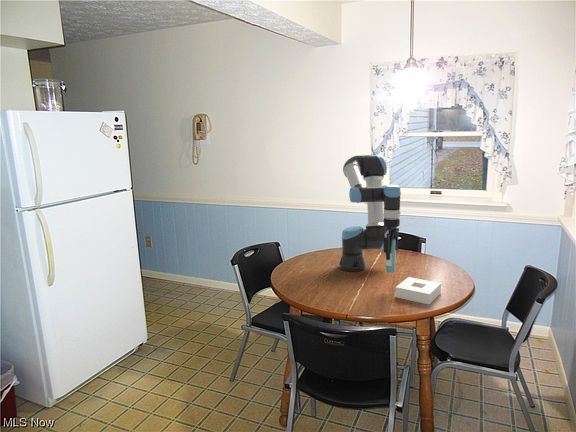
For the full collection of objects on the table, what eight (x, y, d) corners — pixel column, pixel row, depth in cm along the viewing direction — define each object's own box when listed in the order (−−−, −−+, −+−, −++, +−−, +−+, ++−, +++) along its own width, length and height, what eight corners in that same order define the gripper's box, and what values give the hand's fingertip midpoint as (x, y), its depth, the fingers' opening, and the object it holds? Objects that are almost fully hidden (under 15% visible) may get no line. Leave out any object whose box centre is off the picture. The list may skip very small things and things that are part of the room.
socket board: (395, 297, 200) (395, 287, 199) (408, 286, 212) (408, 277, 211) (429, 304, 190) (429, 294, 189) (440, 293, 203) (441, 283, 202)
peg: (384, 271, 208) (385, 240, 204) (388, 269, 211) (388, 238, 208) (392, 273, 206) (393, 241, 202) (395, 270, 209) (396, 239, 205)
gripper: (391, 222, 194) (390, 270, 199) (406, 215, 207) (404, 260, 212) (376, 220, 198) (375, 267, 203) (391, 213, 211) (390, 258, 216)
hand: (390, 264), depth 208 cm, fingers closed on peg, 4 cm apart
